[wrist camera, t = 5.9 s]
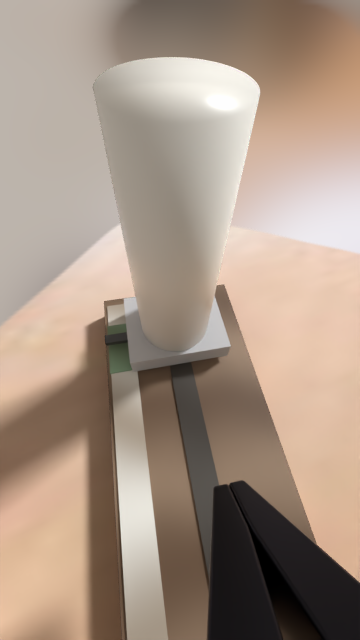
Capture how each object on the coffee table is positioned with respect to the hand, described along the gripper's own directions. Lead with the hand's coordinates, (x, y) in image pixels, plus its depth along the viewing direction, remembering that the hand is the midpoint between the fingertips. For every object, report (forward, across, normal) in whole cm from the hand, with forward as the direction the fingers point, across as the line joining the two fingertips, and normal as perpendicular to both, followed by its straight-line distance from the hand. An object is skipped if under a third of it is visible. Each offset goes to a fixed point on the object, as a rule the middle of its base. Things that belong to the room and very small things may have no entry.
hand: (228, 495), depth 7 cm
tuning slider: (+9, 0, -2) cm, 9 cm away
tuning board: (+7, 0, +3) cm, 8 cm away
